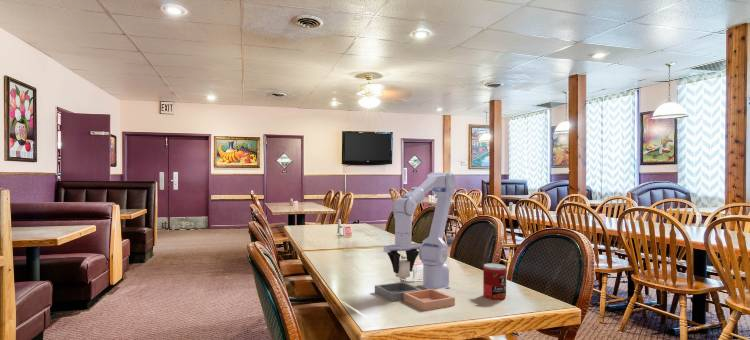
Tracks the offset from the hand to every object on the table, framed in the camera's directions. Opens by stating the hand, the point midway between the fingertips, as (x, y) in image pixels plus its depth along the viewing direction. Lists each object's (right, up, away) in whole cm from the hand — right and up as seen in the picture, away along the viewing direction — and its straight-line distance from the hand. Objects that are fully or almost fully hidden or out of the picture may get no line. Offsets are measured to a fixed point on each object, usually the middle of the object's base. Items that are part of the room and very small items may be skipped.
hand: (402, 271), depth 146 cm
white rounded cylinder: (0, -2, 0) cm, 2 cm away
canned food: (+32, -10, +2) cm, 34 cm away
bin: (-2, -9, +1) cm, 9 cm away
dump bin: (+8, -9, -8) cm, 14 cm away
